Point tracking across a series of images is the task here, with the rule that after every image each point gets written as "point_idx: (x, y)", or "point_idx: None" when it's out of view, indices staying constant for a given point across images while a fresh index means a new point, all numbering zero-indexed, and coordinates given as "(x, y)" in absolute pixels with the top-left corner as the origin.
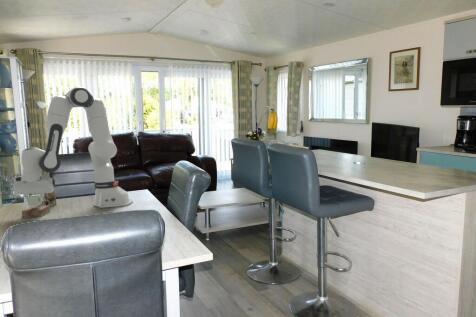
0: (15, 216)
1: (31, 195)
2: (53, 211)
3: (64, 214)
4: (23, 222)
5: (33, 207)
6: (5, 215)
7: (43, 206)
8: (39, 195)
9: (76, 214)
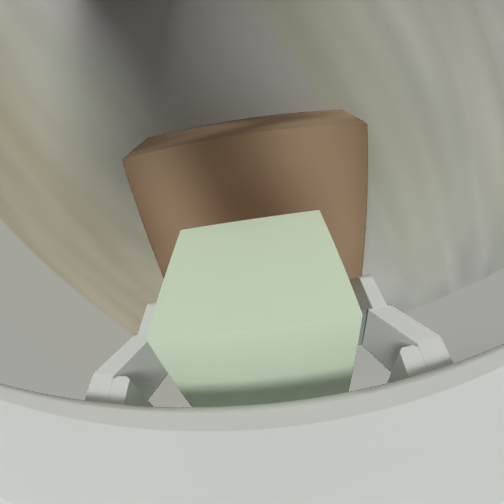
0: (111, 261)
1: (194, 379)
2: (375, 100)
3: (482, 217)
4: None
5: (203, 213)
6: (23, 237)
7: (312, 165)
8: (353, 359)
9: None
